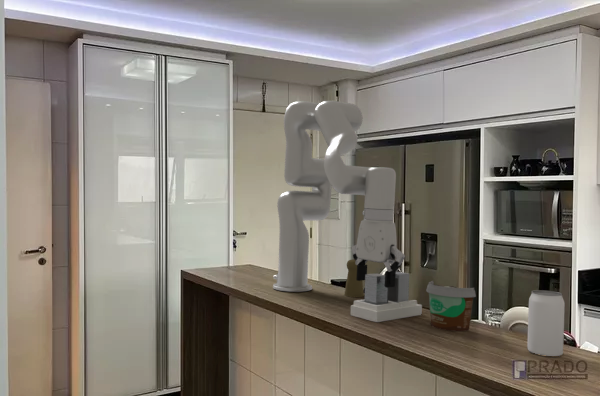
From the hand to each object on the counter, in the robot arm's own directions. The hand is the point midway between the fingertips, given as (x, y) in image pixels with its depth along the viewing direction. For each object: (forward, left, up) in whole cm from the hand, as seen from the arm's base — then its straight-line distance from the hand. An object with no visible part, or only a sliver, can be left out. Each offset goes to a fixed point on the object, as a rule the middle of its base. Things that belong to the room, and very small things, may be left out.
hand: (375, 283), depth 134 cm
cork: (-24, +16, -9) cm, 30 cm away
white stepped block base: (+1, +4, -8) cm, 9 cm away
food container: (+17, +5, -9) cm, 20 cm away
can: (+41, +5, -9) cm, 42 cm away
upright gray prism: (+1, 0, -6) cm, 6 cm away
